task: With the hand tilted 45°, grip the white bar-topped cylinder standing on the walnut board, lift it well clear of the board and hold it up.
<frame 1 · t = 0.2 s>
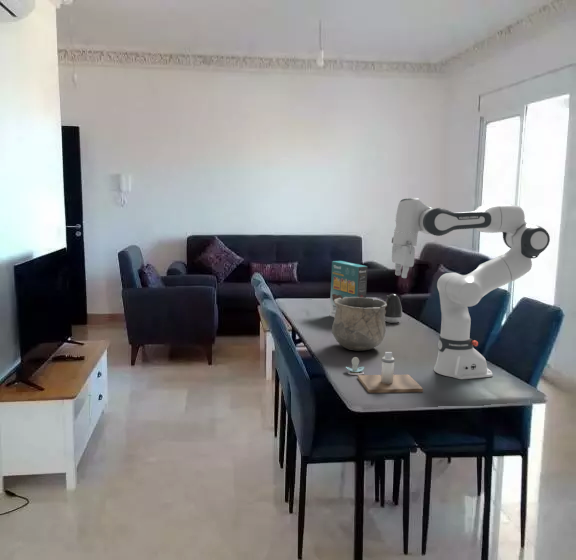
hand: (400, 276, 237), 38 cm above the table, tool pointing down, fingers open, 8 cm apart
pacifier: (355, 374, 242), on the table
board: (389, 384, 230), on the table
pot: (357, 349, 277), on the table
white bar-topped cylinder: (386, 381, 229), point 1 cm above the table, touching board
dark grey domed cylinder: (391, 322, 330), on the table
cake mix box: (346, 319, 332), on the table
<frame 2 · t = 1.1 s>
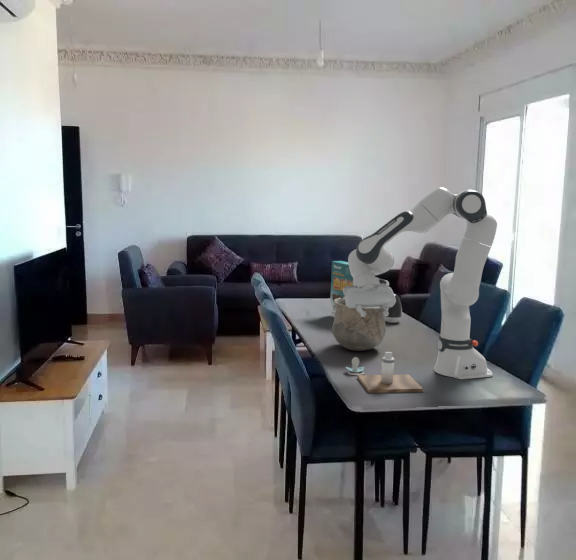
hand: (375, 315, 237), 23 cm above the table, tool tilted 45°, fingers open, 8 cm apart
nothing on the table moved.
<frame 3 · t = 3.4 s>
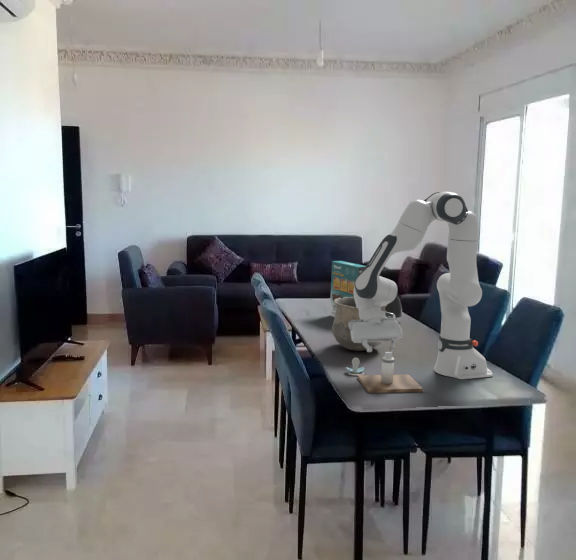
hand: (381, 350, 233), 12 cm above the table, tool tilted 45°, fingers open, 8 cm apart
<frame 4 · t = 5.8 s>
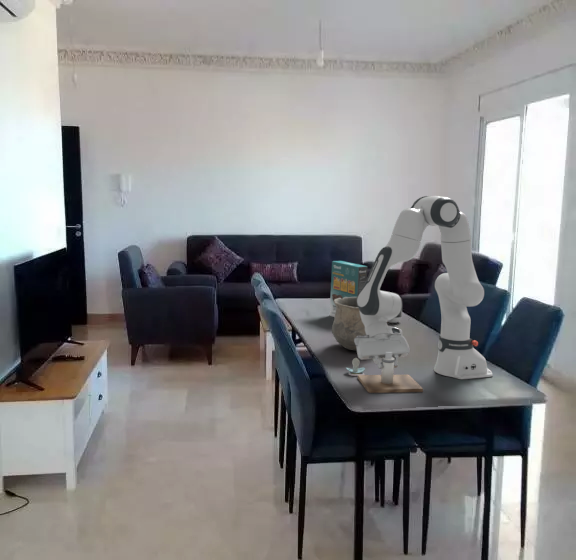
hand: (388, 367, 228), 7 cm above the table, tool tilted 45°, fingers closed on white bar-topped cylinder, 4 cm apart
white bar-topped cylinder: (386, 381, 229), point 1 cm above the table, touching board, gripper
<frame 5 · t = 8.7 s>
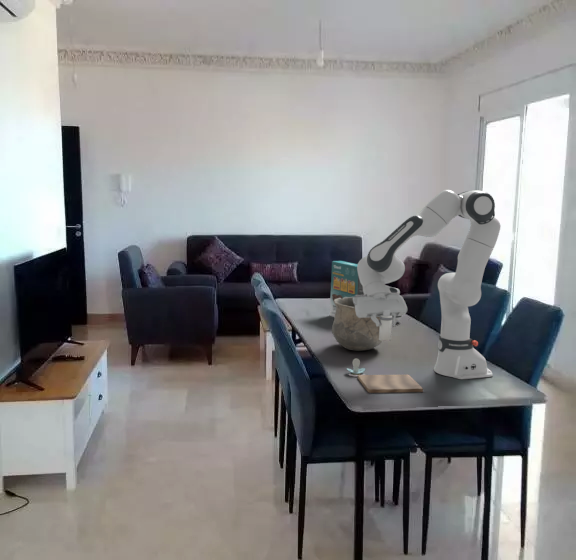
hand: (386, 325, 231), 21 cm above the table, tool tilted 45°, fingers closed on white bar-topped cylinder, 4 cm apart
white bar-topped cylinder: (384, 339, 233), point 16 cm above the table, touching gripper
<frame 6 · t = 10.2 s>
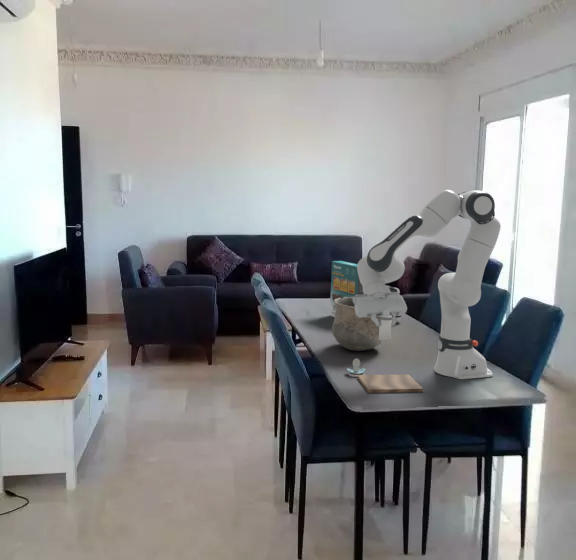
hand: (386, 325, 231), 21 cm above the table, tool tilted 45°, fingers closed on white bar-topped cylinder, 4 cm apart
white bar-topped cylinder: (384, 339, 233), point 16 cm above the table, touching gripper
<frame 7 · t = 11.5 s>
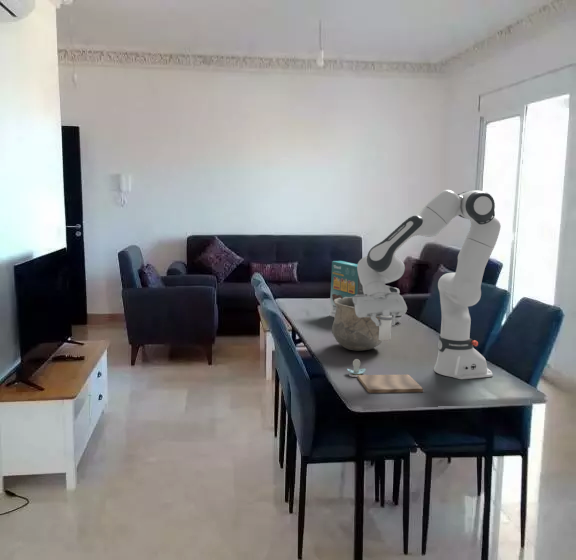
hand: (386, 325, 231), 21 cm above the table, tool tilted 45°, fingers closed on white bar-topped cylinder, 4 cm apart
white bar-topped cylinder: (384, 339, 233), point 16 cm above the table, touching gripper
at the end: the gripper is holding white bar-topped cylinder; white bar-topped cylinder point 15.7 cm above the table; white bar-topped cylinder touching gripper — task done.
